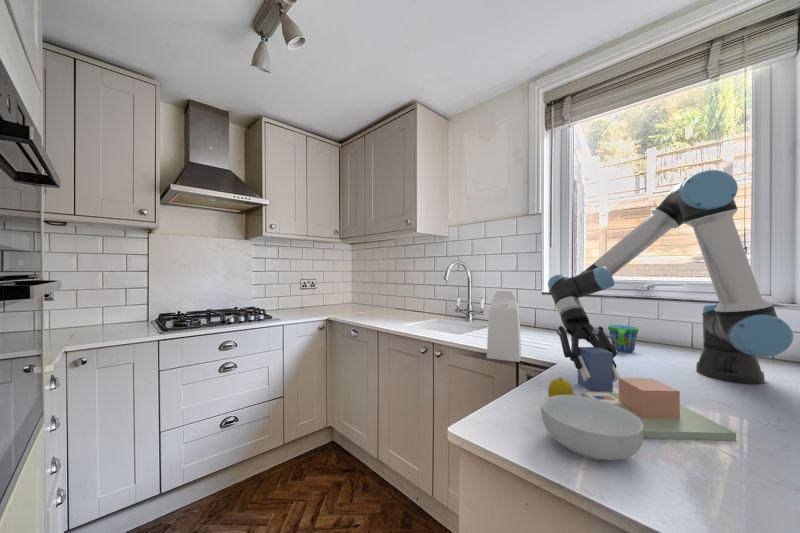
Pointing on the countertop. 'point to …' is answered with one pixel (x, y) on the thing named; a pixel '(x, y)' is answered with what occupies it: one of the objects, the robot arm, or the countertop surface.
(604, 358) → the navy brick
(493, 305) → the milk
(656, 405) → the baseplate tower
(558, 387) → the lemon
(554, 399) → the cereal bowl
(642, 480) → the countertop surface
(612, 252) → the robot arm
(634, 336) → the snack cup
